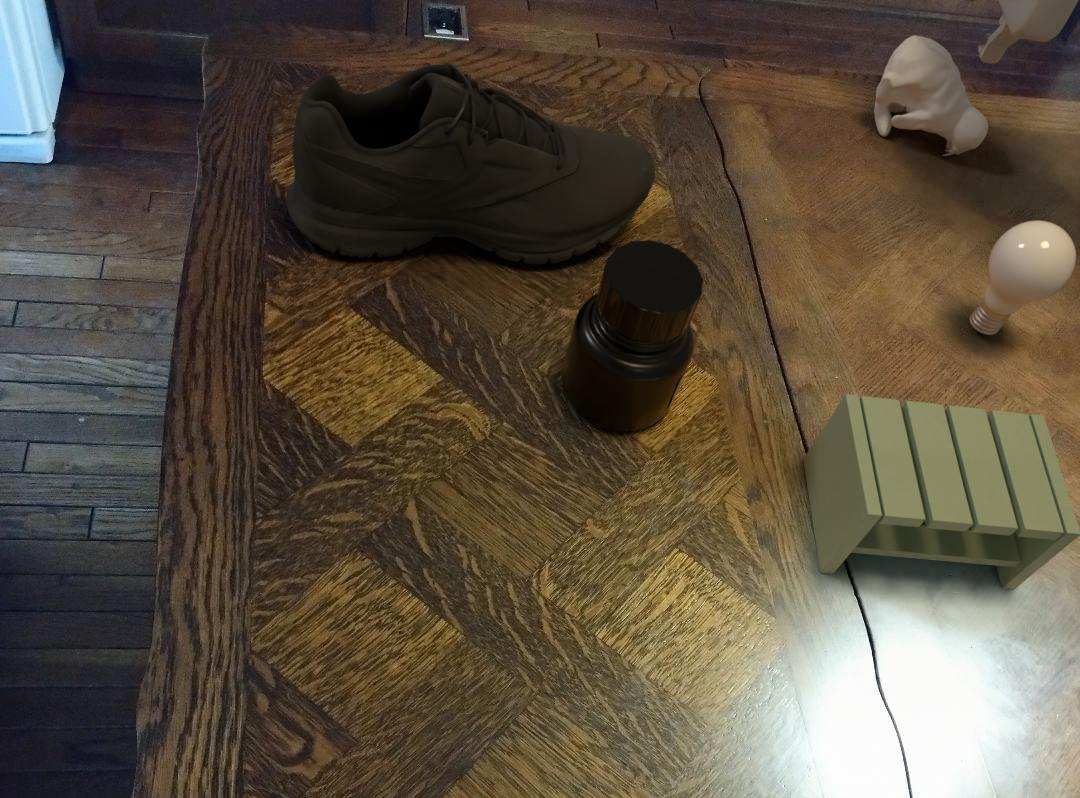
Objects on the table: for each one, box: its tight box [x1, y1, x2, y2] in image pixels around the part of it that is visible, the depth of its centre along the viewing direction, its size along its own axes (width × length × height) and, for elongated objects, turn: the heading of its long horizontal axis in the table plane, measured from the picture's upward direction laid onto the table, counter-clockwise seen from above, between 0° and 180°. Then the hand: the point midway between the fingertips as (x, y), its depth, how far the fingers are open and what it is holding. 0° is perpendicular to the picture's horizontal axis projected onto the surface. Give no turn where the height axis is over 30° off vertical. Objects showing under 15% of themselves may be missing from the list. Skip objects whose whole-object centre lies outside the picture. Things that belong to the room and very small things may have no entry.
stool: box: [802, 393, 1080, 590], centre depth 71 cm, size 15×10×8 cm, turn 89°
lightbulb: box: [969, 220, 1077, 336], centre depth 82 cm, size 6×6×11 cm
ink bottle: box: [561, 239, 704, 432], centre depth 72 cm, size 10×9×12 cm
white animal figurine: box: [873, 34, 989, 157], centre depth 96 cm, size 6×8×12 cm
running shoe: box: [286, 62, 656, 265], centre depth 78 cm, size 11×30×14 cm, turn 104°
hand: (974, 26), depth 90 cm, fingers open, 8 cm apart
